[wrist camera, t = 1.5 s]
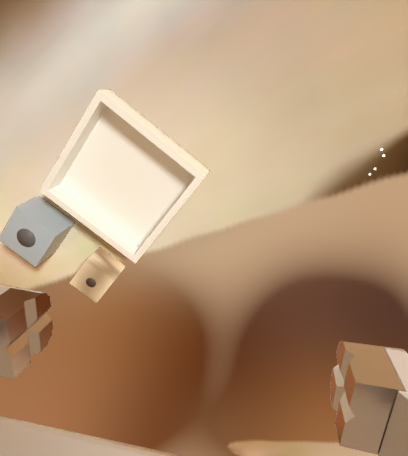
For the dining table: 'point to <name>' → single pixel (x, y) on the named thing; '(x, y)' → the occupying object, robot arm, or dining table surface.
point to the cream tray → (122, 175)
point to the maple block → (97, 274)
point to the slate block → (35, 230)
